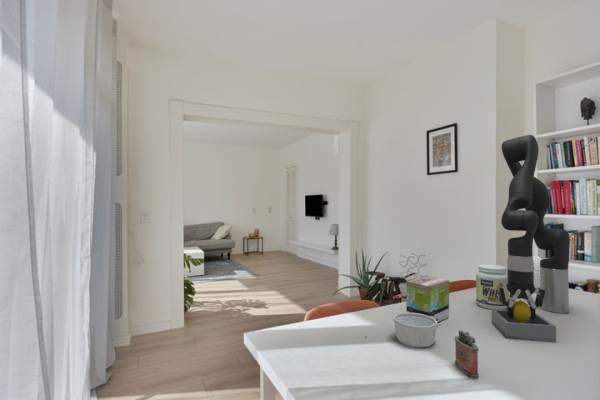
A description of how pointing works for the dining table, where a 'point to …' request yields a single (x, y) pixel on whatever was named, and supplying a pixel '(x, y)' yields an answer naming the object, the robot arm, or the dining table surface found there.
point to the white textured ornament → (536, 271)
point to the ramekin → (415, 329)
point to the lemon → (521, 311)
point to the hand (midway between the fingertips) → (520, 317)
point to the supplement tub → (490, 286)
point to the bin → (524, 327)
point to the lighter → (466, 354)
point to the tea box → (428, 297)
